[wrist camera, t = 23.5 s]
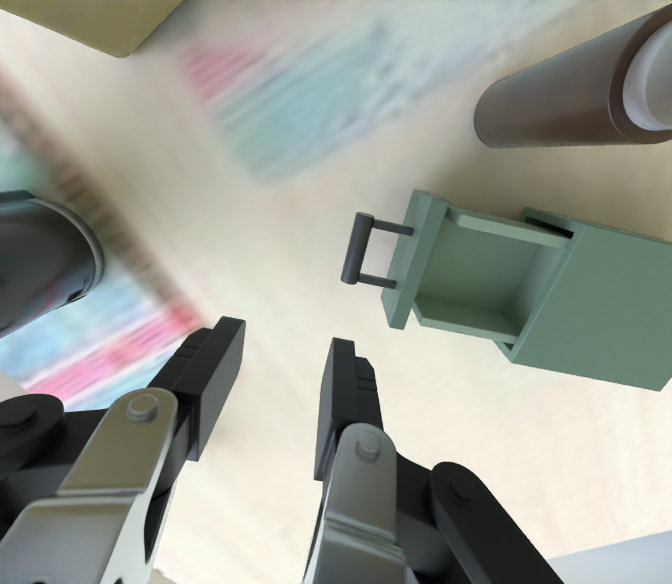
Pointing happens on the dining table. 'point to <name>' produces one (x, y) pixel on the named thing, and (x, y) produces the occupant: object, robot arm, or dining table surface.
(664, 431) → the dining table surface
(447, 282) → the drawer
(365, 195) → the dining table surface
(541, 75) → the pepper mill
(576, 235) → the cabinet
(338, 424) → the robot arm
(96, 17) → the cheese
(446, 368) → the dining table surface
